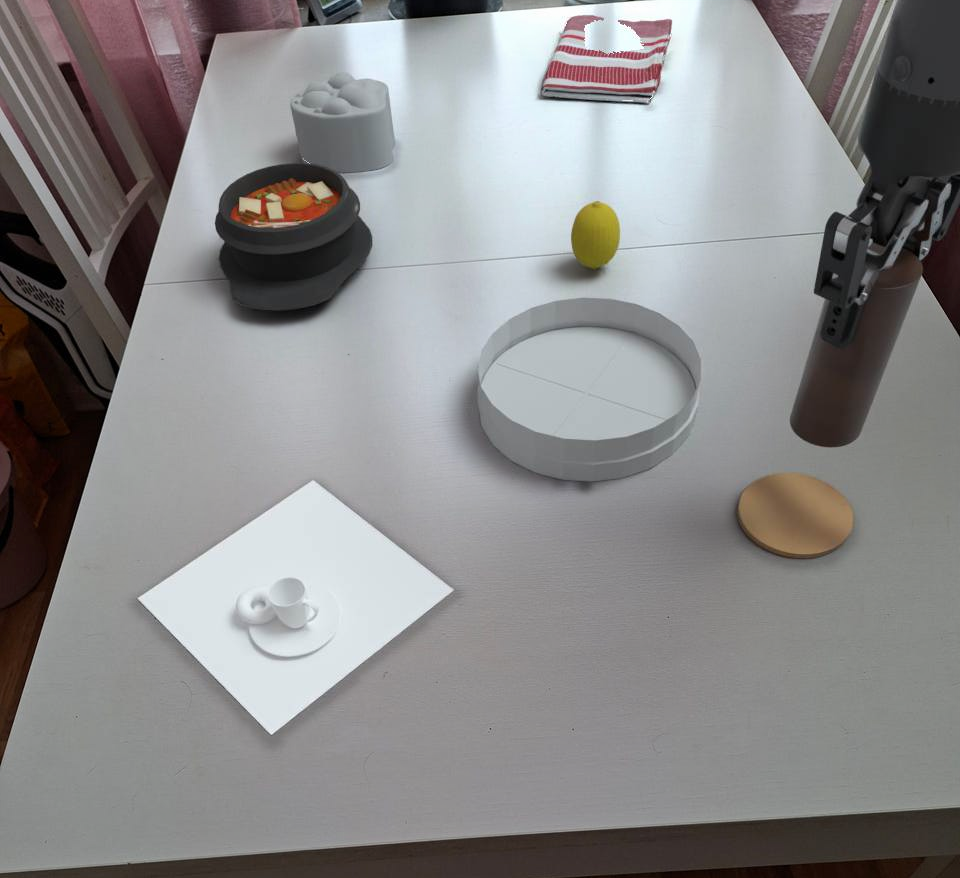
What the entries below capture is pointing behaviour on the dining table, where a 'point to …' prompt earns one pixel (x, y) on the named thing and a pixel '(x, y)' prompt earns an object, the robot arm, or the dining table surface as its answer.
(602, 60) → the dish towel
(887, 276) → the brown cylinder
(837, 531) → the coaster
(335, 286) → the casserole
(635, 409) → the dish
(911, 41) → the robot arm
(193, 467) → the dining table surface
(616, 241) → the lemon
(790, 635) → the dining table surface
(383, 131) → the lumpy-topped squat cylinder
